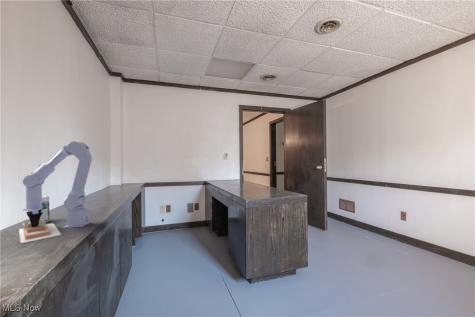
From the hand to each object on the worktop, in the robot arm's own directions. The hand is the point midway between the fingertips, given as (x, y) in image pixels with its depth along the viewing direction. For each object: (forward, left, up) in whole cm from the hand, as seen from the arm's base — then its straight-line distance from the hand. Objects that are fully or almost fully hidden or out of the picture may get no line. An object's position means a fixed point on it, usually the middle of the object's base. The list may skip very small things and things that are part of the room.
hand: (34, 225), depth 106 cm
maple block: (0, 0, -1) cm, 1 cm away
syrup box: (+5, -11, -2) cm, 12 cm away
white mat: (-7, +6, -2) cm, 9 cm away
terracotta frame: (-8, +9, -2) cm, 12 cm away
